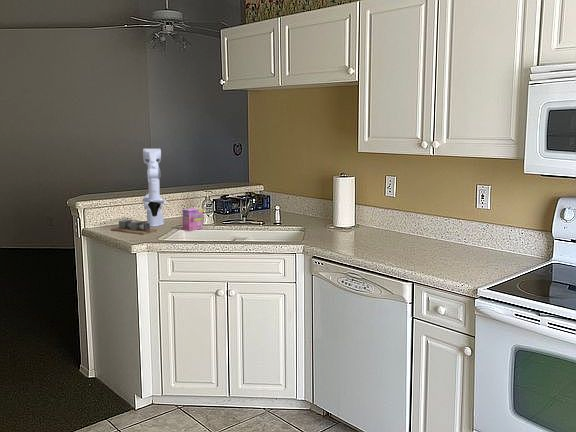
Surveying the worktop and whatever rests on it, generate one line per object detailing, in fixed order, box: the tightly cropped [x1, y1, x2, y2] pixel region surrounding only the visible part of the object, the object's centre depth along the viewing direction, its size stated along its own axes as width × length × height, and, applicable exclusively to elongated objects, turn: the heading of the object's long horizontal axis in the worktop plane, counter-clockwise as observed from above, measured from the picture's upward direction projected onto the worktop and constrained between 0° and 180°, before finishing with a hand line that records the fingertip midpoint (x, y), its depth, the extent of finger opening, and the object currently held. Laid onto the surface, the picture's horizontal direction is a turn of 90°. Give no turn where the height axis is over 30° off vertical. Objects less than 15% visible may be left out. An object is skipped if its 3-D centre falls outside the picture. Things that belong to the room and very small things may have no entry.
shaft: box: [117, 221, 151, 231], centre depth 320 cm, size 4×20×4 cm, turn 64°
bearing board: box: [110, 219, 158, 236], centre depth 320 cm, size 12×22×5 cm, turn 64°
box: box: [182, 206, 204, 232], centre depth 326 cm, size 10×6×12 cm, turn 143°
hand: (154, 216), depth 313 cm, fingers closed
